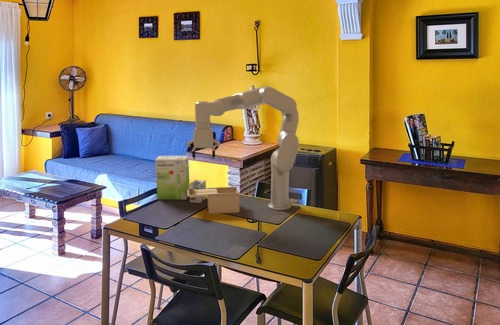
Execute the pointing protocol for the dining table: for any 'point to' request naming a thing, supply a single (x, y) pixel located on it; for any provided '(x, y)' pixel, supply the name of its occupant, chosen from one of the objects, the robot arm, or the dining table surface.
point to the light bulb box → (198, 185)
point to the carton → (223, 200)
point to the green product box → (172, 177)
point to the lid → (199, 191)
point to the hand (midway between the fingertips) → (203, 158)
